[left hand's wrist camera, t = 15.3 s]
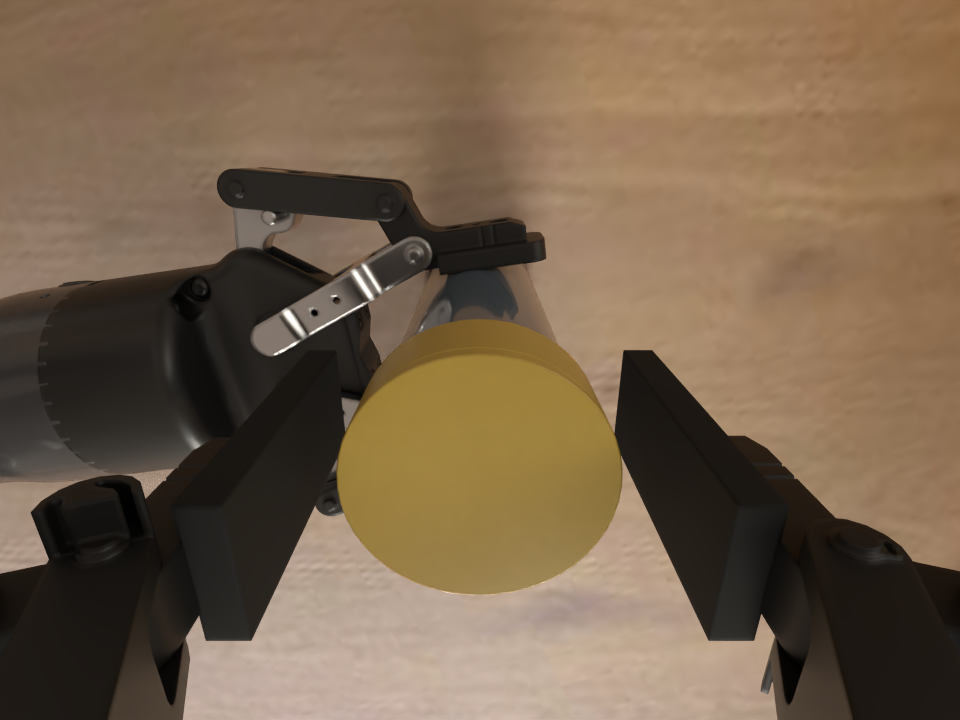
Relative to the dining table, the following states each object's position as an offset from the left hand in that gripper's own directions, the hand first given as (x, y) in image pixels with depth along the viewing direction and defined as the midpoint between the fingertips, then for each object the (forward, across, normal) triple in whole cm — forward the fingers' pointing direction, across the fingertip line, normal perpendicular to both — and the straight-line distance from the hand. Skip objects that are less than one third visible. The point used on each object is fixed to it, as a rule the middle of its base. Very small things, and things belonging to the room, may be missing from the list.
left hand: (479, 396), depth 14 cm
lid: (-4, 0, 0) cm, 4 cm away
